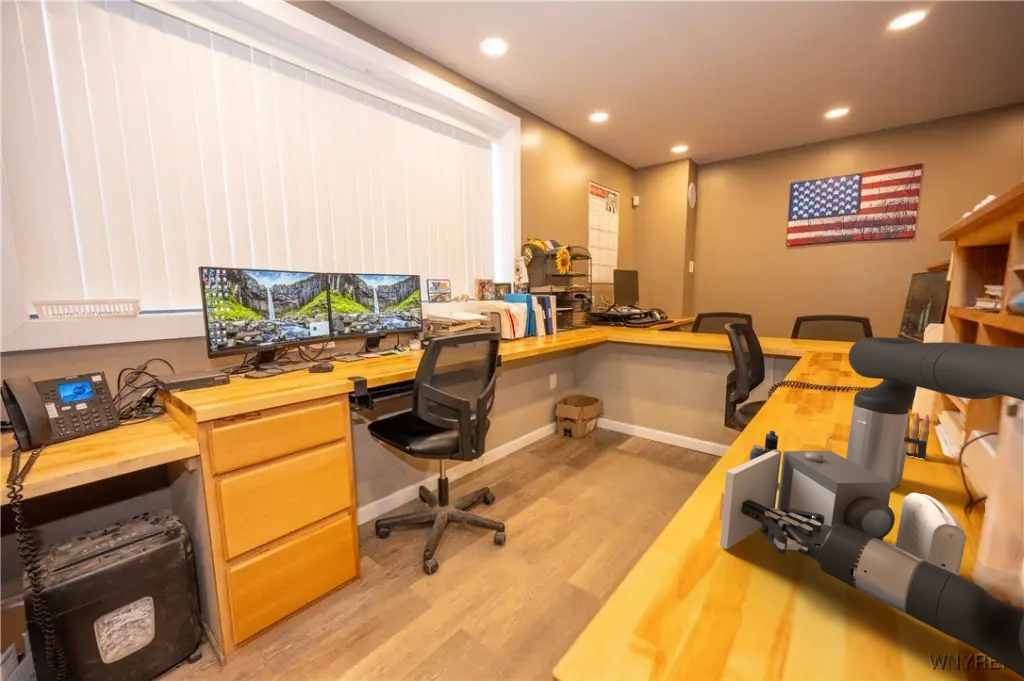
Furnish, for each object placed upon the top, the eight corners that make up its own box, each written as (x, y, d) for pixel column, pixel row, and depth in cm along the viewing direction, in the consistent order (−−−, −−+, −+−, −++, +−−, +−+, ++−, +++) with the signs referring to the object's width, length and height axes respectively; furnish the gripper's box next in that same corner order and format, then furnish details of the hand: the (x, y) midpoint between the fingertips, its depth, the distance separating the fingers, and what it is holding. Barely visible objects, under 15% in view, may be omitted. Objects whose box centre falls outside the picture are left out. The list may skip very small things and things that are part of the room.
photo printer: (960, 603, 58) (975, 523, 56) (920, 593, 59) (934, 516, 58) (923, 558, 67) (935, 489, 65) (889, 551, 69) (900, 483, 67)
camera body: (821, 519, 78) (830, 446, 76) (893, 572, 64) (907, 485, 62) (775, 520, 78) (783, 447, 75) (837, 573, 63) (850, 485, 61)
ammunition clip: (870, 447, 112) (876, 406, 110) (871, 446, 113) (877, 404, 111) (924, 461, 104) (932, 416, 102) (925, 459, 105) (933, 414, 103)
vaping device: (775, 485, 91) (781, 434, 89) (750, 482, 92) (755, 432, 90) (770, 479, 93) (776, 430, 92) (746, 477, 94) (750, 428, 93)
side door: (775, 518, 77) (782, 451, 75) (727, 549, 68) (734, 474, 66) (764, 513, 79) (771, 447, 77) (715, 543, 70) (722, 469, 68)
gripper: (894, 526, 58) (767, 476, 73) (852, 556, 51) (722, 494, 66) (887, 574, 59) (763, 515, 74) (845, 609, 52) (719, 537, 67)
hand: (744, 505), depth 70 cm, fingers closed
